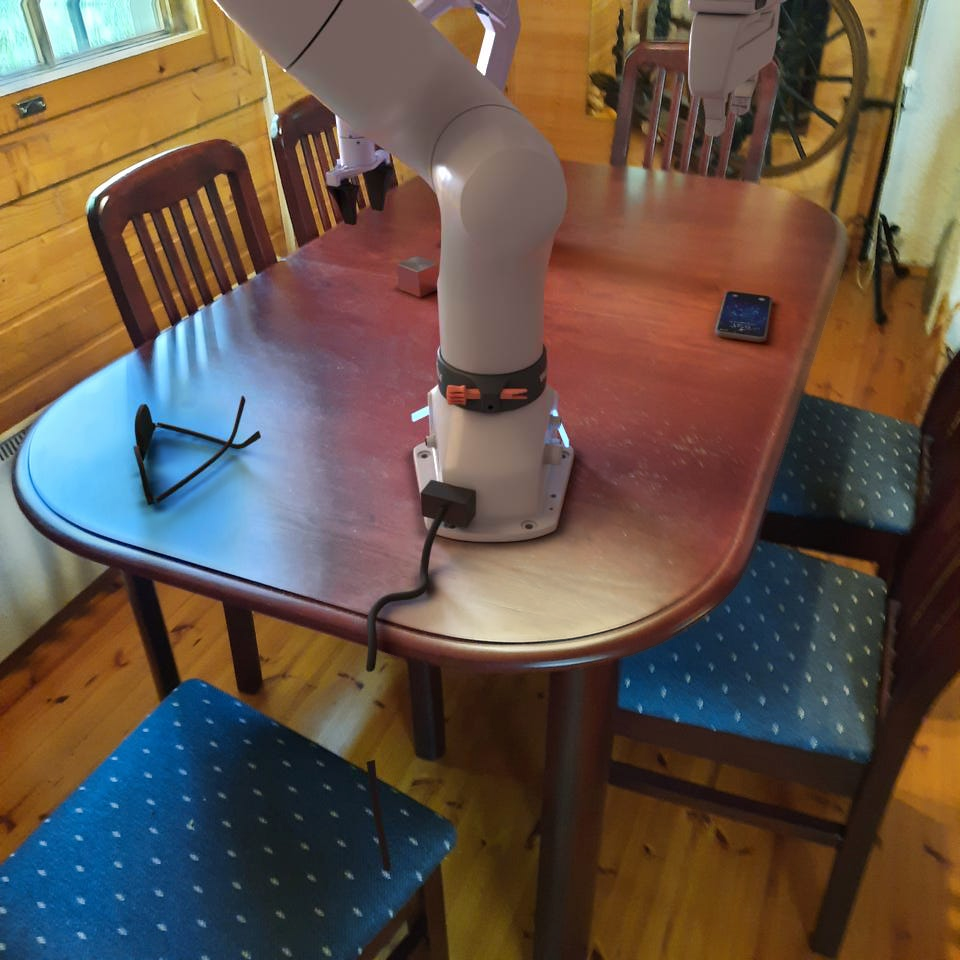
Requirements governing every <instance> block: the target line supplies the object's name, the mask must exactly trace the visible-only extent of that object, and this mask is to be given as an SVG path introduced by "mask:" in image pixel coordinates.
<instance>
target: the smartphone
mask: <svg viewBox="0 0 960 960" xmlns="http://www.w3.org/2000/svg"><path fill="white" fill-rule="evenodd" d="M773 302H774V301H773V298H772V297H771V296H769V295H763V294H756V293H749V292H743V291H734V290H729V291H726V292H725V293H724V295H723V299H722V301H721V306H720V310H719V312H718V317H717V319H716V322H715V328H714V334H715V335H716V336H717V337H718V338H719V337H720V338H725V339H732V340H739V341H747V342H754V343H764V342H765V341H767V338H768V333H769V328H770V318H771V313H772V307H773Z"/></svg>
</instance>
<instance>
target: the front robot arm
mask: <svg viewBox="0 0 960 960" xmlns="http://www.w3.org/2000/svg"><path fill="white" fill-rule="evenodd" d="M213 1H214V3H216V4H217V6H218V7H219V8H220V10H222V11H223V13H224V14H225V15H226V16H227V17H228V18H229V19H230V21H231V22H232V23H233V24H234V25H235V26H236V27H237V28H238V29H239V30H240V31H241V32H242V33H243V34H244V35H245V36H246V37H247V39H249V41H251V42H252V43H253V44H254V45H255V46H256V47H257V48H258V49H259V50H260V51H261V52H262V53H263V54H264V55H265V56H267V58H268V59H270V60H271V61H272V62H273V63H275V64H276V65H277V66H278V67H279V68H280V69H281V70H283V71H284V72H285V74H287V75H288V76H289V77H290V78H291V79H293V80H294V81H295V82H296V83H298V84H299V85H300V86H301V87H302V88H303V89H304V90H306V91H307V92H308V93H309V94H310V95H312V96H313V97H314V98H315V99H316V100H317V101H319V102H320V103H321V104H322V105H323V106H324V107H326V108H327V109H328V110H329V111H331V112H332V113H333V114H334V115H335V117H336V116H338V117H339V118H340V119H341V120H342V121H343V122H345V123H346V124H347V125H348V126H349V127H350V128H352V129H353V130H354V131H355V132H356V133H358V134H359V135H361V136H364V137H366V138H367V139H369V140H371V141H372V142H374V145H376V146H378V147H380V148H381V149H382V150H385V151H387V152H389V155H390V156H391V155H392V156H393V158H396V159H397V160H398V161H399V162H401V163H402V164H403V165H405V166H407V167H408V168H409V169H410V170H412V171H413V172H414V173H415V174H417V175H418V176H419V177H420V178H422V180H424V181H425V183H427V185H428V186H429V187H430V188H431V190H432V191H433V192H434V193H435V195H436V197H437V201H438V207H439V211H440V213H439V214H440V223H441V225H440V226H441V233H440V235H441V237H440V238H441V239H440V260H439V261H440V262H439V277H438V281H437V290H436V291H437V307H438V324H439V326H438V327H439V342H440V343H439V344H440V345H439V346H438V348H437V354H436V356H437V358H436V363H435V364H436V376H437V384H436V385H435V387H434V386H433V388H432V389H431V390H430V391H428V392H427V406H424V407H423V408H421V409H419V410H417V411H415V412H413V413H411V421H412V422H416V421H418V420H420V419H423V418H424V417H426V416H428V424H429V435H426V436H425V438H424V442H422V443H419V444H417V445H416V446H415V447H414V448H413V454H412V455H413V457H412V458H413V464H414V470H415V475H416V476H415V477H416V480H417V487H418V492H419V498H420V499H419V500H420V506H421V516H422V517H423V522H424V526H425V529H426V530H427V531H428V532H427V534H426V537H425V540H424V543H423V547H422V553H421V559H420V566H419V579H420V585H419V586H418V587H417V588H414V589H412V590H409V591H407V590H406V591H400V592H399V591H398V592H392V593H388V594H385V595H383V596H381V597H380V598H379V599H378V600H377V601H376V602H375V603H374V604H373V605H372V606H371V608H370V610H369V612H368V615H367V618H366V631H367V655H366V656H367V657H366V665H365V670H366V672H368V673H372V672H373V671H375V669H376V664H377V657H378V656H377V655H378V636H377V633H378V632H377V617H378V614H379V613H380V612H381V611H382V610H383V608H384V607H385V606H387V605H388V604H390V603H394V602H401V601H409V600H414V599H418V598H419V597H421V596H423V595H424V594H425V593H426V592H427V591H428V589H429V586H430V579H429V566H430V559H431V552H432V548H433V544H434V541H435V538H436V535H437V536H440V537H443V538H448V539H452V540H457V541H466V542H477V543H478V542H480V543H500V542H501V543H502V542H503V543H506V542H518V541H527V540H531V539H536V538H539V537H543V536H546V535H548V534H550V533H552V532H554V531H556V530H557V527H558V525H559V520H560V518H561V517H560V516H561V512H562V508H563V504H564V500H565V497H566V492H567V488H568V483H569V480H570V476H571V472H572V469H573V468H572V467H573V464H574V459H575V450H574V447H573V446H571V445H570V439H569V438H568V435H567V433H566V430H565V428H564V426H563V424H562V416H559V392H557V391H556V390H555V389H554V388H553V387H552V386H551V385H550V384H549V383H548V382H547V379H548V367H549V361H548V356H547V355H548V354H547V353H548V351H547V347H546V345H545V344H544V323H545V322H544V321H545V292H546V280H547V274H548V269H549V263H550V260H551V256H552V255H551V254H552V250H553V247H554V241H555V237H556V233H557V232H558V230H559V229H560V227H561V225H562V223H563V221H564V218H565V216H566V211H567V207H568V189H567V183H566V177H565V173H564V170H563V166H562V162H561V160H560V157H559V155H558V153H557V150H556V149H555V148H554V146H553V144H552V143H551V142H550V141H549V140H548V139H547V138H546V137H545V135H544V134H543V133H541V131H540V130H539V129H538V128H537V127H536V126H535V125H534V124H533V123H532V122H531V121H530V120H529V119H528V118H527V116H526V115H525V114H524V113H523V112H522V111H521V110H520V109H519V108H518V107H517V106H516V105H515V104H514V103H513V102H512V100H510V99H509V98H508V97H507V96H506V95H505V94H504V92H503V93H502V92H501V91H500V90H499V89H498V88H497V87H496V86H495V85H494V84H493V83H492V82H491V81H490V80H488V79H487V78H486V77H485V76H484V75H483V74H482V73H481V72H480V71H479V70H478V69H477V66H475V65H474V63H472V62H471V61H470V60H469V59H468V58H467V56H466V55H464V54H463V53H462V52H461V51H460V50H459V49H458V48H457V47H456V46H455V45H454V44H453V43H452V42H451V41H450V40H449V39H448V38H447V37H446V36H445V35H443V33H442V32H441V31H440V30H439V29H438V28H437V27H435V25H434V24H433V23H430V22H429V21H428V20H427V19H426V18H425V17H424V16H423V15H422V14H421V13H420V12H419V11H418V10H417V9H416V8H415V7H414V6H413V3H411V1H410V0H213ZM787 1H788V0H688V4H687V8H688V11H689V12H691V13H695V14H694V15H693V18H692V22H691V25H690V26H691V27H690V35H689V47H688V48H689V50H688V70H687V71H688V73H687V74H688V75H687V83H688V89H689V92H690V96H692V97H694V98H699V99H700V98H702V99H703V108H704V115H705V126H704V134H705V135H706V136H707V137H715V138H717V137H720V136H721V135H722V134H723V133H724V132H725V130H726V124H727V116H726V103H727V102H728V99H729V94H730V93H732V92H733V91H734V90H735V91H734V96H733V97H732V99H731V107H730V113H731V114H732V115H735V116H744V115H746V114H747V113H748V112H749V111H750V109H751V102H752V97H753V94H754V90H755V88H756V85H757V82H758V79H759V71H761V70H762V69H763V68H765V67H766V66H767V65H769V64H770V63H771V62H772V60H773V58H774V55H775V52H776V46H777V40H778V30H779V23H780V12H781V4H782V3H785V2H787ZM558 433H559V434H560V437H561V439H562V441H561V439H560V438H558ZM366 770H367V772H366V773H367V781H368V788H369V795H370V802H371V809H372V814H373V821H374V825H375V831H376V836H377V842H378V848H379V852H380V858H381V862H382V868H383V867H384V868H383V871H384V870H386V871H389V870H390V869H391V870H392V865H391V859H390V854H389V849H388V848H389V847H388V842H387V838H386V831H385V827H384V820H383V815H382V814H383V813H382V808H381V802H380V801H381V800H380V794H379V785H378V778H377V777H378V776H377V768H376V759H372V760H367V761H366Z"/></svg>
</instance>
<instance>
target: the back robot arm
mask: <svg viewBox="0 0 960 960" xmlns="http://www.w3.org/2000/svg"><path fill="white" fill-rule="evenodd" d="M518 2H519V1H518V0H416V1H414V3H412V5H413V6H414V7H415V8H416V9H417V10H418V11H419V12H420V13H421V14H422V15H423V16H424V17H425V18H426V19H427V20H428V21H429V22H430V23H431V24H433V22H434V21H436V20H437V19H438V18H440V17H441V16H442V15H444V14H445V13H447V12H449V11H450V10H451V9H455V8H458V9H459V8H464V9H465V8H472V9H473V10H474V11H475V13H476V14H477V16H478V18H479V21H480V22H481V24H482V25H483V27H484V30H485V32H484V36H483V41H482V44H481V48H480V52H479V56H478V61H477V64H476V68H477V69H478V70H479V71H480V72H481V73H482V74H483V75H484V76H485V77H486V78H487V79H488V80H490V81H491V82H492V83H493V84H494V85H495V86H496V87H497V88H498V89H499V90H500V91H501V92H502V93H503V94H504V91H505V88H506V84H507V81H508V77H509V73H510V70H511V66H512V63H513V59H514V58H513V57H514V55H515V52H516V47H517V43H518V40H519V37H520V33H521V27H522V22H521V16H520V9H519V8H520V7H519V3H518ZM335 122H336V123H335V124H336V131H337V140H338V147H339V155H340V158H338V159H336V165H335V166H334V167H333V168H332V169H331V170H329V171H327V172H326V173H325V176H326V181H325V189H327V191H328V192H329V193H330V195H331V196H332V198H333V200H334V201H335V203H336V205H337V207H338V210H339V212H340V215H341V218H342V220H343V222H344V224H345V225H349V226H356V225H357V221H358V214H357V213H358V210H357V209H358V208H357V205H358V203H357V202H358V195H359V194H358V193H359V190H360V188H361V187H360V184H354V183H352V181H350V179H352V178H355V177H357V176H359V175H361V174H362V175H363V178H364V181H365V184H366V188H367V194H368V200H369V205H370V208H371V210H372V211H378V212H382V211H384V210H385V209H384V207H385V202H386V195H387V190H388V186H389V184H390V180H391V178H392V176H393V174H394V167H393V166H392V165H388V164H391V158H390V157H391V155H390V153H389V152H387V151H386V150H384V149H378V150H376V148H375V146H376V145H375V143H374V142H372V141H371V140H369V139H367V138H366V137H364V136H361V135H359V134H358V133H356V132H355V131H354V130H353V129H352V128H350V127H349V126H348V125H347V124H346V123H345V122H343V121H342V120H341V119H340V118H339V117H338V116H336V115H335Z"/></svg>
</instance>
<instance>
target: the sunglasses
mask: <svg viewBox="0 0 960 960" xmlns="http://www.w3.org/2000/svg"><path fill="white" fill-rule="evenodd" d="M245 404H246V398H245V396H244V395H241V396H240V401H239V405H238V408H237V409H238V410H237V413H236V417H235V421H234V425H233V429H232V432H231V435H230V437H229V439H228V440H227V441H226V440H223V439H220V438H217V437H214V436H211V435H208V434H204V433H201V432H198V431H195V430H192V429H188V428H184V427H180V426H176V425H172V424H169V423H164V422H159V421H157V422H153V418H152V414H151V411H150V408H149V406H148V404H146V403H142V404H140V405H139V406H138V409H137V411H136V413H135V418H134V436H135V444H136V445H133V447H132V448H133V452H134V455H135V460H136V463H137V467H138V471H139V475H140V479H141V485H142V489H143V493H144V497H145V500H146V503H147V505H148V506H151V505H154V504H155V501H156V503H157V504H160V503H162V501H164V500H165V499H167V498H168V497H170V496H171V495H172V494H174V493H175V492H177V491H178V490H179V489H181V488H182V487H184V486H185V485H187V484H188V483H189V482H191V481H192V480H193V479H194V478H196V477H197V476H198V475H200V474H202V473H203V472H204V471H205V470H206V469H208V467H210V466H211V465H212V464H213V463H215V462H216V461H217V460H218V459H220V457H222V455H223V454H224V453H225V452H226V451H228V449H229V448H231V449H233V450H242V449H246V448H247V447H249V446H250V445H252V444H254V443H255V442H256V441H258V440H260V439H261V438H262V435H261V432H260V430H256V431H255V432H254V433H253V434H252V435H250V436H249V437H248V438H247V439H246V440H245V441H244V442H241V443H233V442H234V441H235V438H236V435H237V434H238V429H239V426H240V423H241V419H242V415H243V412H244V409H245ZM157 428H160V429H164V430H168V431H172V432H175V433H179V434H183V435H188V436H191V437H195V438H199V439H202V440H205V441H209V442H211V443H215V444H218V445H221V446H223V447H221V449H220V450H219V451H217V452H216V453H215V454H214V455H213V456H212V457H211V458H209V459H208V460H207V461H206V462H204V463H203V464H202V465H200V466H199V467H198V468H196V469H195V470H193V471H192V472H191V473H189V474H188V475H187V476H186V477H184V478H183V479H180V481H178V482H177V483H176V484H174V485H172V486H171V487H169V488H168V489H166V490H165V491H163V492H162V493H161V494H160V495H158V496H157V497H154V495H152V491H151V487H150V484H149V479H148V474H147V470H146V467H145V463H144V461H145V459H146V456H147V453H148V450H149V448H150V445H151V442H152V438H153V435H154V432H155V430H157Z"/></svg>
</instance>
